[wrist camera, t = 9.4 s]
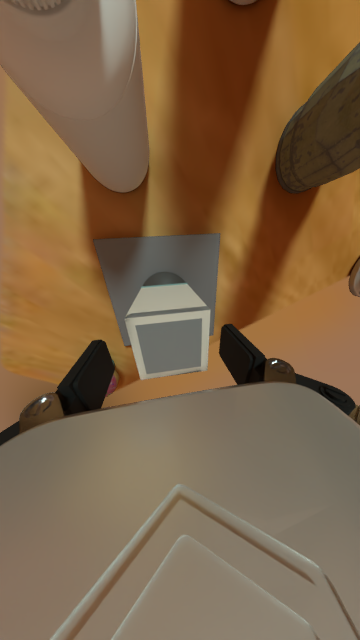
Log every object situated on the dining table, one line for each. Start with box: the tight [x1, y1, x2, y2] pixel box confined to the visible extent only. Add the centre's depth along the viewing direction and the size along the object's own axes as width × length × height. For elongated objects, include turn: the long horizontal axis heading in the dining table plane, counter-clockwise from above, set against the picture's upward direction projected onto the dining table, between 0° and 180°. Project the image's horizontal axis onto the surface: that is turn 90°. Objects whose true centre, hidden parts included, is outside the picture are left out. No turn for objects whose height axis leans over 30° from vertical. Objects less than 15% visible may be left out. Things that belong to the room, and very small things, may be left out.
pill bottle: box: [0, 0, 149, 192], centre depth 9 cm, size 8×8×15 cm
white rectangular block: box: [124, 283, 210, 380], centre depth 15 cm, size 6×6×10 cm
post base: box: [93, 233, 220, 346], centre depth 19 cm, size 18×18×12 cm
